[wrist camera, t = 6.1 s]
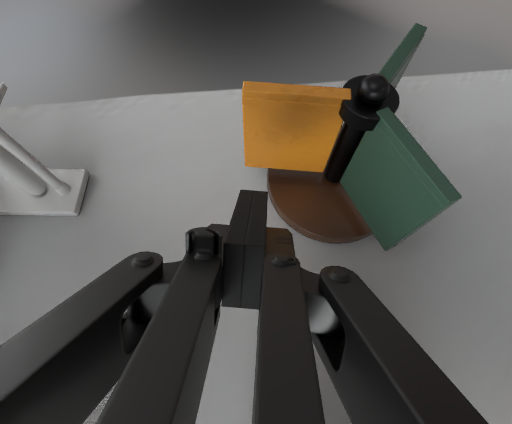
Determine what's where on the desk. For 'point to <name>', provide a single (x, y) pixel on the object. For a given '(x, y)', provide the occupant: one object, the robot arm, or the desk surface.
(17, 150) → the test tube rack
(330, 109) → the three-panel rotating stand
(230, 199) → the desk surface
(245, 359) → the desk surface
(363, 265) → the desk surface
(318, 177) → the rack stand
